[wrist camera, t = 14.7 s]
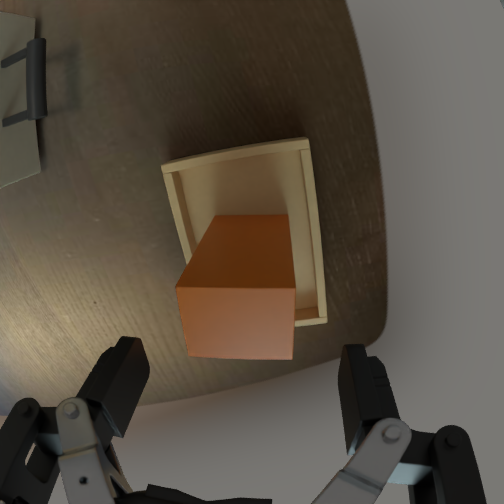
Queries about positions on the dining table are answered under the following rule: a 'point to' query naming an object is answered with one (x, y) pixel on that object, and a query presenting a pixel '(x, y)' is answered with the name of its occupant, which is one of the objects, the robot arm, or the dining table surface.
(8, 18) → the drawer
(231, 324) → the block
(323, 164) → the dining table surface
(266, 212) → the tray
